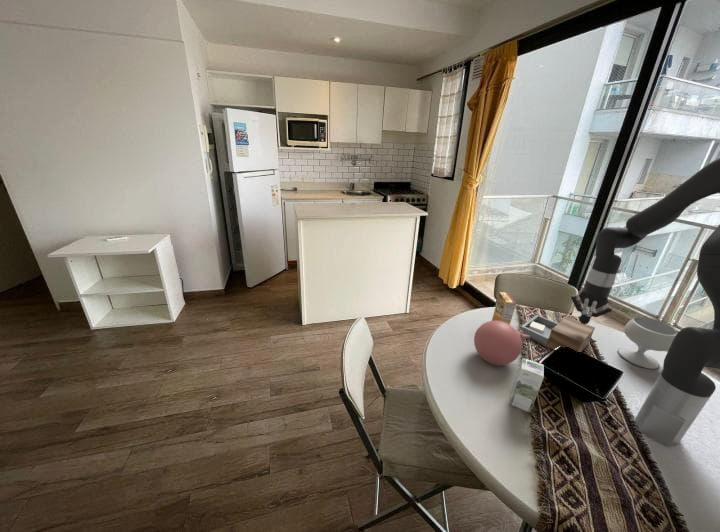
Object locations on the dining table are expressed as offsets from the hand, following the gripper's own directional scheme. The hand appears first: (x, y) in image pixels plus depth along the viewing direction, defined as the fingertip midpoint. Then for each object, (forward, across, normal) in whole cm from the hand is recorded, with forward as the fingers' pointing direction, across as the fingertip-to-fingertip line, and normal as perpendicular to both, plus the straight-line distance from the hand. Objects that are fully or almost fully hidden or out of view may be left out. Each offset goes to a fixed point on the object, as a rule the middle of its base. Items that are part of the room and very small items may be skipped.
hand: (583, 323), depth 110 cm
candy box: (+12, -25, -10) cm, 30 cm away
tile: (+8, -14, -1) cm, 16 cm away
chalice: (+12, +17, +14) cm, 25 cm away
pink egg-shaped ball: (+12, -15, -31) cm, 36 cm away
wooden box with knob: (+12, -2, +1) cm, 12 cm away
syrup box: (+13, -2, -45) cm, 47 cm away
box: (+12, -13, +1) cm, 17 cm away
